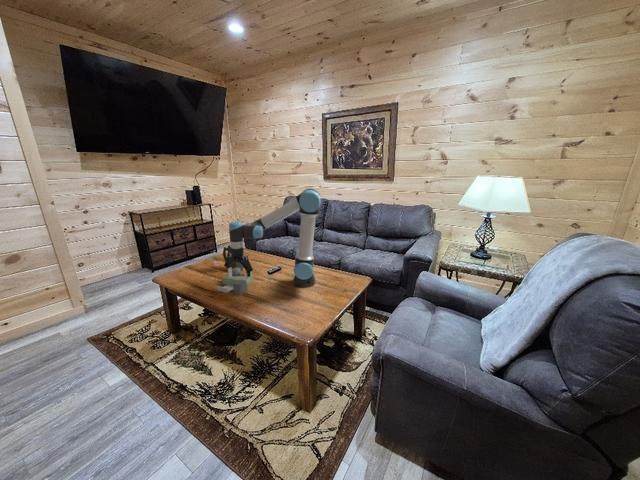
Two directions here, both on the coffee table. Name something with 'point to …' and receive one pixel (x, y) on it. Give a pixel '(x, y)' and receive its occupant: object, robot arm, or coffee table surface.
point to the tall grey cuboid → (240, 287)
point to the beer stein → (235, 264)
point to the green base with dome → (233, 280)
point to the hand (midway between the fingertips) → (238, 279)
